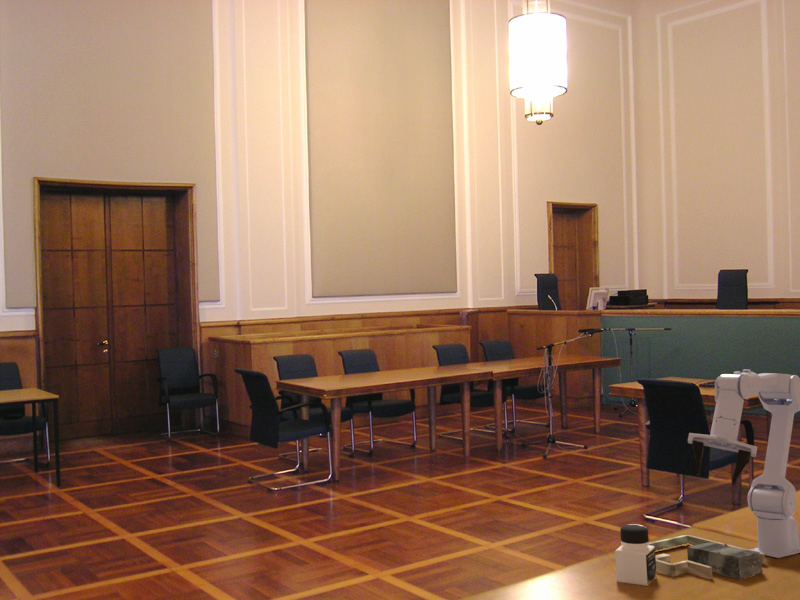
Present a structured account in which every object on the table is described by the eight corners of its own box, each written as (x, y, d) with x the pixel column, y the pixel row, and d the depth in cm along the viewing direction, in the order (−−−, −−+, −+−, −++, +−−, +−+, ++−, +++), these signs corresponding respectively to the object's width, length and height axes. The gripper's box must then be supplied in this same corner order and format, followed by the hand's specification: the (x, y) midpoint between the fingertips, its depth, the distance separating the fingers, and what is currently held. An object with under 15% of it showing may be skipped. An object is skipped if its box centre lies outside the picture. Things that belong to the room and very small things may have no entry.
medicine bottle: (648, 586, 179) (645, 531, 180) (616, 582, 183) (613, 528, 183) (656, 577, 185) (654, 523, 186) (625, 573, 189) (623, 521, 189)
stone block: (712, 560, 198) (711, 538, 198) (766, 574, 185) (765, 551, 186) (687, 566, 193) (686, 544, 193) (740, 581, 181) (739, 557, 181)
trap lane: (687, 544, 212) (687, 534, 212) (765, 564, 192) (764, 553, 192) (618, 559, 200) (617, 549, 200) (693, 583, 180) (692, 571, 180)
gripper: (692, 410, 188) (680, 466, 183) (760, 423, 181) (750, 482, 176) (693, 420, 193) (682, 475, 188) (759, 434, 187) (750, 491, 182)
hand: (715, 479), depth 183 cm, fingers open, 7 cm apart
